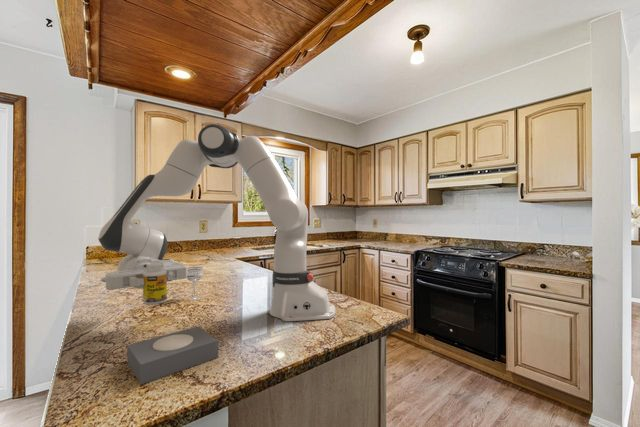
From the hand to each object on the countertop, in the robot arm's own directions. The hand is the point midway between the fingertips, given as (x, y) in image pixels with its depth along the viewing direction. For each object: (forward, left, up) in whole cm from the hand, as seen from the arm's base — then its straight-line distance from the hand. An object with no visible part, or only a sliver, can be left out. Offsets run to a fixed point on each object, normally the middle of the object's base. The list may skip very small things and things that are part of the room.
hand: (156, 280), depth 79 cm
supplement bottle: (+1, -1, -6) cm, 6 cm away
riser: (-10, +10, -16) cm, 21 cm away
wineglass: (+7, -39, -16) cm, 43 cm away
